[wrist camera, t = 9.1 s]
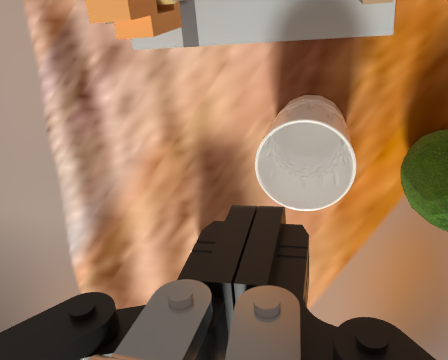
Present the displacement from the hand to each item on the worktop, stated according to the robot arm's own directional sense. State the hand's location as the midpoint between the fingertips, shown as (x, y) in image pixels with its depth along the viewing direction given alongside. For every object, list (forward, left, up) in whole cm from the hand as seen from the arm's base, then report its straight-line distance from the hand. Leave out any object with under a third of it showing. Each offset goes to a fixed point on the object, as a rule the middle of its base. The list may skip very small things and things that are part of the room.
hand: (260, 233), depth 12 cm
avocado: (-12, +10, -31) cm, 35 cm away
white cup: (0, +7, -31) cm, 32 cm away
